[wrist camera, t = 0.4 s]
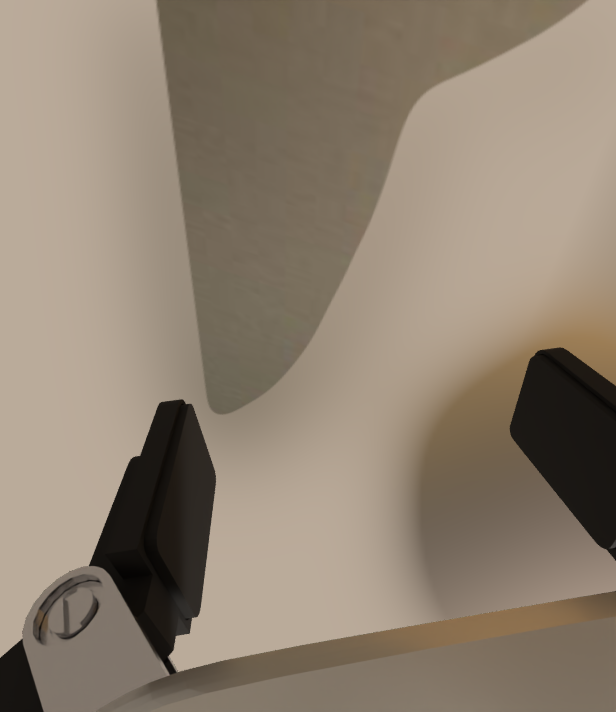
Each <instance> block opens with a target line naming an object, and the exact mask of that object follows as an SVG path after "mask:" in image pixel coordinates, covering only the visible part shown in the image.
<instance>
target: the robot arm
mask: <svg viewBox="0 0 616 712" xmlns="http://www.w3.org/2000/svg"><path fill="white" fill-rule="evenodd" d="M510 433H511V436H512V438H513V439H514V441H515V442H516V443H517V445H518V446H519V447H520V449H521V450H522V451H523V452H524V454H525V455H526V456H527V457H528V458H529V460H530V461H531V462H532V463H533V465H534V466H535V467H536V468H537V470H538V471H539V472H540V473H541V475H542V476H543V477H544V478H545V480H546V481H547V482H548V483H549V485H550V486H551V487H552V488H553V490H554V491H555V492H556V493H557V495H558V496H559V497H560V498H561V499H562V501H563V502H564V503H565V505H566V506H567V507H568V508H569V510H570V511H571V512H572V513H573V515H574V516H575V517H576V518H577V519H578V521H579V522H580V523H581V524H582V526H583V527H584V528H585V529H586V531H587V532H588V533H589V534H590V536H591V537H592V538H593V539H594V540H595V542H596V543H597V544H598V545H599V546H600V547H602V548H604V549H607V550H608V552H609V553H610V554H611V555H612V556H613V558H614V559H615V560H616V386H615V385H614V384H612V383H611V382H610V381H608V380H607V379H605V378H604V377H603V376H601V375H600V374H599V373H597V372H596V371H595V370H593V369H592V368H591V367H589V366H588V365H586V364H585V363H584V362H582V361H581V360H580V359H578V358H577V357H576V356H574V355H573V354H572V353H570V352H569V351H567V350H566V349H564V348H553V349H546V350H540V351H538V352H537V353H536V354H535V356H534V357H532V358H531V359H530V361H529V364H528V368H527V371H526V374H525V378H524V381H523V385H522V388H521V391H520V394H519V398H518V401H517V404H516V408H515V411H514V415H513V418H512V422H511V425H510ZM215 485H216V475H215V470H214V467H213V464H212V461H211V458H210V455H209V452H208V449H207V446H206V443H205V440H204V437H203V434H202V431H201V429H200V426H199V423H198V420H197V417H196V414H195V411H194V408H193V406H192V404H185V402H184V400H174V401H166V402H161V403H160V404H159V406H158V408H157V410H156V414H155V416H154V419H153V422H152V424H151V427H150V430H149V433H148V435H147V438H146V441H145V444H144V446H143V449H142V452H141V455H140V456H137V457H133V458H132V459H131V460H130V462H129V464H128V466H127V469H126V471H125V474H124V477H123V479H122V482H121V484H120V487H119V489H118V492H117V495H116V497H115V500H114V502H113V505H112V508H111V510H110V513H109V516H108V518H107V520H106V523H105V526H104V528H103V531H102V533H101V536H100V539H99V541H98V544H97V546H96V549H95V552H94V554H93V557H92V560H91V562H90V564H89V566H86V567H81V568H78V569H75V570H72V571H70V572H68V573H67V574H65V575H63V576H62V577H60V578H58V579H57V580H56V581H55V582H53V583H52V584H51V585H50V586H49V587H48V588H47V589H45V590H44V592H43V593H42V594H41V595H40V597H39V598H38V599H37V600H36V601H35V603H34V604H33V606H32V608H31V610H30V612H29V614H28V615H27V617H26V620H25V624H24V628H23V631H22V634H23V639H22V640H21V641H19V642H18V643H17V644H16V645H15V646H13V647H12V648H11V649H10V650H9V651H8V652H7V653H6V654H4V655H3V656H2V657H1V658H0V712H616V591H614V592H608V593H602V594H596V595H590V596H584V597H578V598H572V599H566V600H560V601H554V602H548V603H542V604H536V605H531V606H524V607H519V608H513V609H507V610H501V611H495V612H489V613H483V614H478V615H472V616H466V617H460V618H455V619H449V620H443V621H438V622H431V623H425V624H420V625H414V626H408V627H403V628H397V629H391V630H386V631H380V632H374V633H369V634H363V635H357V636H352V637H346V638H341V639H335V640H329V641H324V642H318V643H312V644H306V645H301V646H296V647H291V648H285V649H281V650H275V651H270V652H266V653H260V654H255V655H250V656H245V657H240V658H235V659H229V660H224V661H220V662H216V663H212V664H208V665H204V666H201V667H196V668H192V669H189V670H185V671H181V672H178V670H177V669H176V667H175V665H174V664H173V662H172V661H171V659H170V657H169V655H170V654H171V653H172V651H173V650H174V643H175V637H176V636H177V635H184V634H189V633H190V628H191V621H192V618H194V617H198V615H199V612H200V608H201V600H202V591H203V584H204V575H205V567H206V559H207V551H208V543H209V534H210V526H211V518H212V510H213V501H214V494H215Z"/></svg>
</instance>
